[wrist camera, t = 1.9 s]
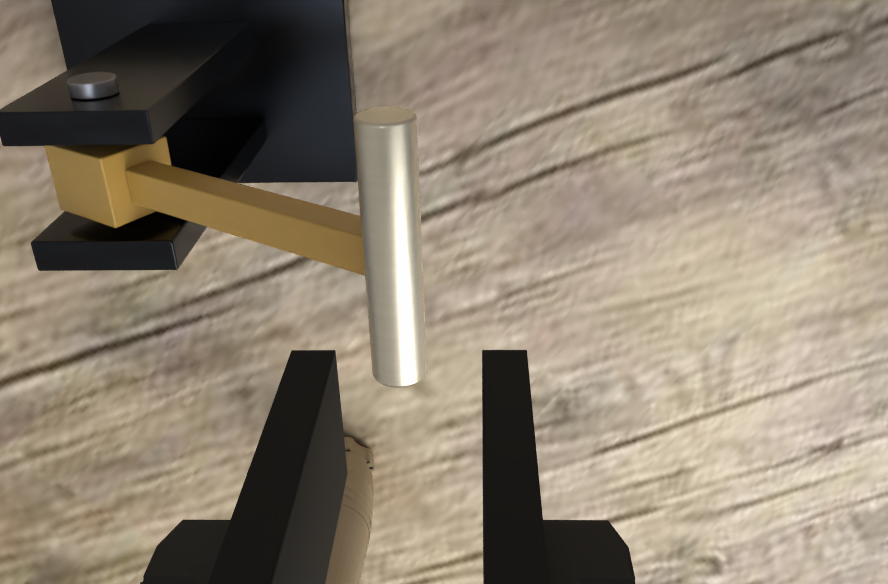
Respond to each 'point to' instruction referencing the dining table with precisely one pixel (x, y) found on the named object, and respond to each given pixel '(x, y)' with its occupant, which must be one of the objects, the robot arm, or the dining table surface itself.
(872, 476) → the dining table surface
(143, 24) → the bracket
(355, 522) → the handle
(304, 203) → the lever
